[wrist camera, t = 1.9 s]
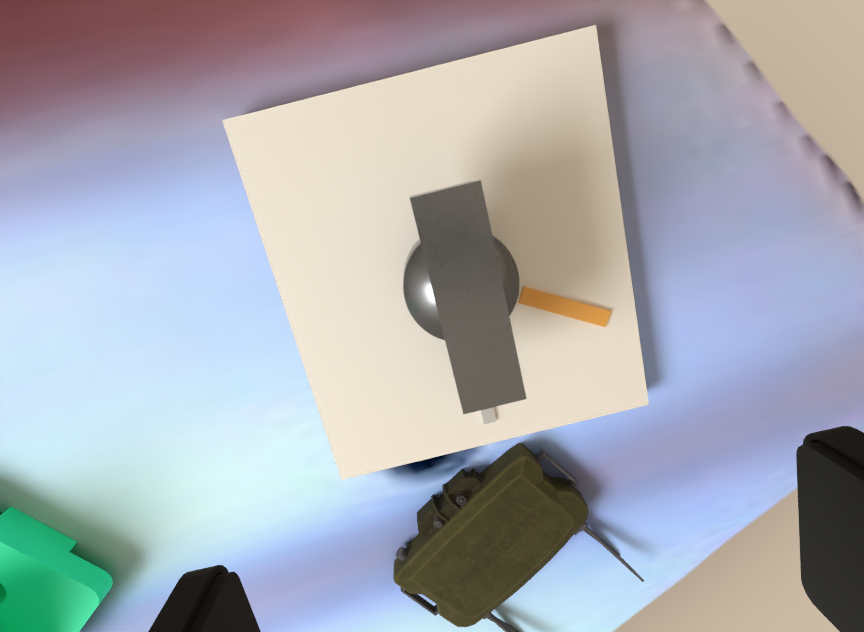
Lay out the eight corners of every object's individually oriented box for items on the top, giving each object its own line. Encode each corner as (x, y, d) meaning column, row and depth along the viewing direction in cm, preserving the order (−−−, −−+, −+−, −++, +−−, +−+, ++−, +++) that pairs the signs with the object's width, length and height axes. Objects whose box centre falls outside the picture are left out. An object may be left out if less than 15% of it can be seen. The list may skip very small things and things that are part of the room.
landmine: (517, 435, 31) (669, 566, 34) (508, 416, 33) (650, 540, 36) (366, 581, 33) (524, 692, 36) (369, 552, 35) (516, 658, 38)
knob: (382, 202, 27) (374, 207, 20) (488, 175, 27) (516, 171, 20) (437, 412, 30) (446, 477, 24) (532, 389, 30) (569, 447, 23)
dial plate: (232, 123, 27) (220, 119, 26) (585, 33, 27) (597, 23, 25) (344, 466, 33) (341, 481, 31) (638, 394, 33) (650, 405, 31)
